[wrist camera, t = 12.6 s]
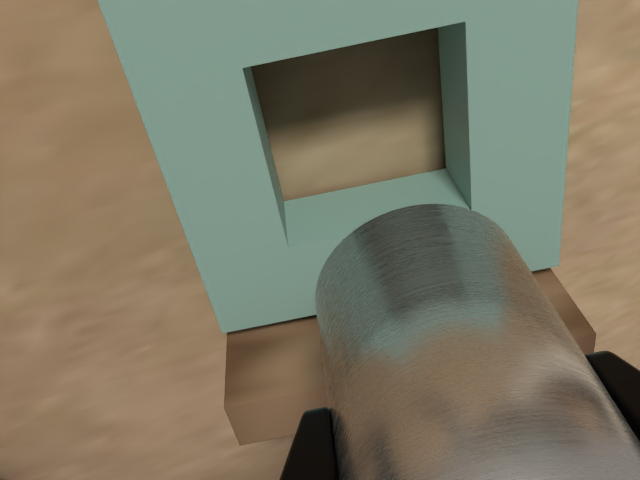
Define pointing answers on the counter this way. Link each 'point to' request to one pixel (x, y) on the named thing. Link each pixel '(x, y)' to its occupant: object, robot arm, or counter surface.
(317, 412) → the robot arm
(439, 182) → the socket block
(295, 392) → the backstop wall
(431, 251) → the dowel
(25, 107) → the counter surface
